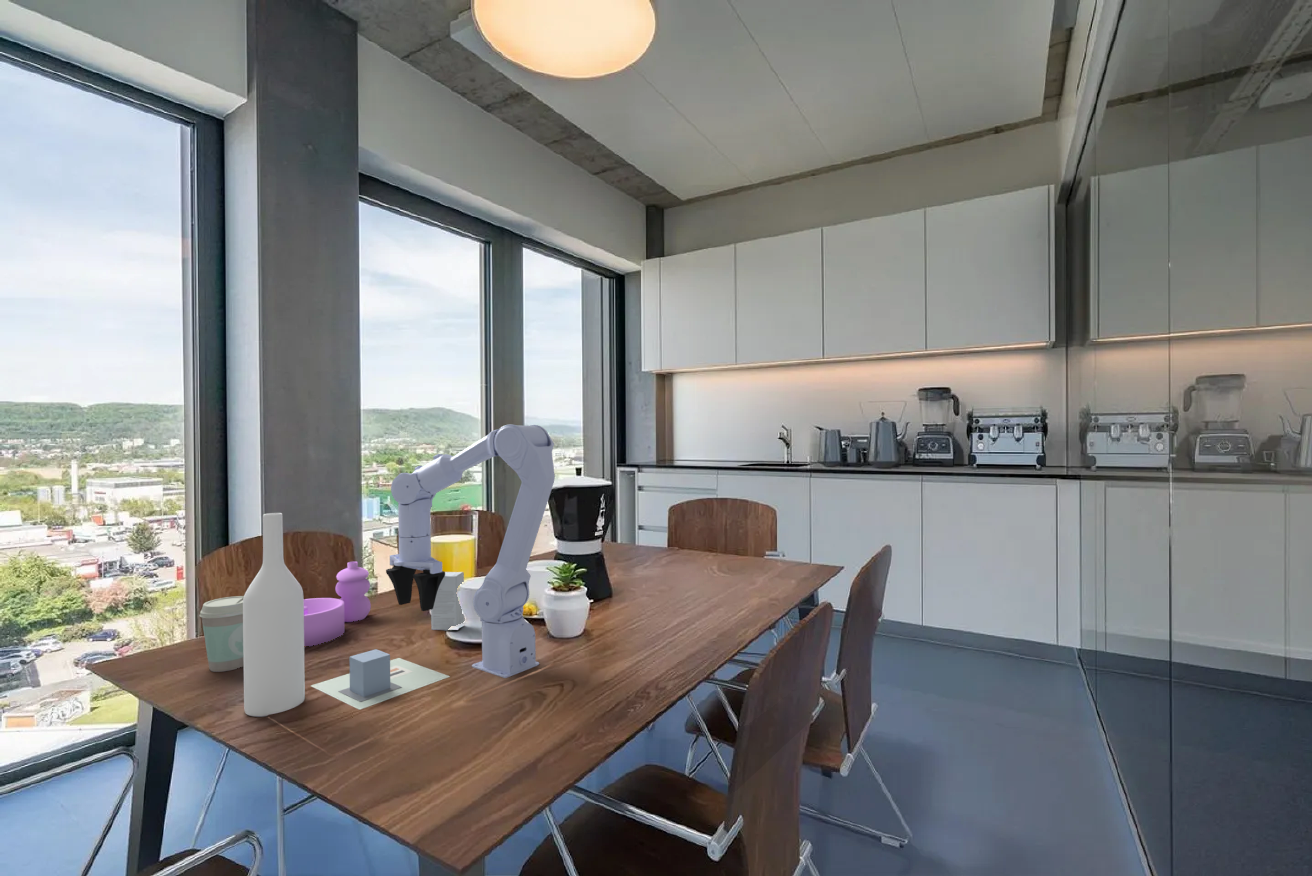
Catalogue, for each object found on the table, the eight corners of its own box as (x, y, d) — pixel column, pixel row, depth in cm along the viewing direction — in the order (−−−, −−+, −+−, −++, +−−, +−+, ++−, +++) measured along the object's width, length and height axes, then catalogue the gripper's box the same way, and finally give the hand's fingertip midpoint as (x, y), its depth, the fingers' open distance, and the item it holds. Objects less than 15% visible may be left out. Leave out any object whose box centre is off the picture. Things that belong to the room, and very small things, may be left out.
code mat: (450, 678, 107) (450, 676, 107) (359, 711, 94) (359, 709, 94) (398, 659, 117) (398, 657, 117) (310, 687, 104) (310, 685, 104)
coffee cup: (228, 676, 109) (227, 608, 109) (187, 673, 111) (187, 606, 111) (267, 659, 118) (266, 596, 118) (229, 656, 120) (228, 594, 120)
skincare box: (465, 625, 138) (464, 571, 138) (457, 631, 133) (456, 576, 133) (439, 625, 138) (438, 571, 138) (430, 631, 134) (429, 575, 134)
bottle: (258, 722, 91) (255, 518, 91) (234, 709, 96) (232, 515, 96) (314, 702, 98) (312, 512, 98) (290, 691, 103) (287, 509, 103)
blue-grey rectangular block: (390, 688, 102) (390, 654, 102) (363, 697, 99) (363, 662, 99) (376, 681, 105) (376, 649, 105) (349, 690, 102) (349, 656, 102)
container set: (302, 652, 122) (301, 585, 122) (243, 646, 126) (242, 581, 126) (391, 617, 146) (391, 561, 146) (339, 612, 150) (338, 558, 150)
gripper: (374, 535, 120) (375, 605, 120) (417, 542, 111) (418, 617, 111) (408, 530, 125) (408, 597, 125) (451, 536, 117) (452, 608, 117)
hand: (415, 606), depth 119 cm, fingers open, 7 cm apart
